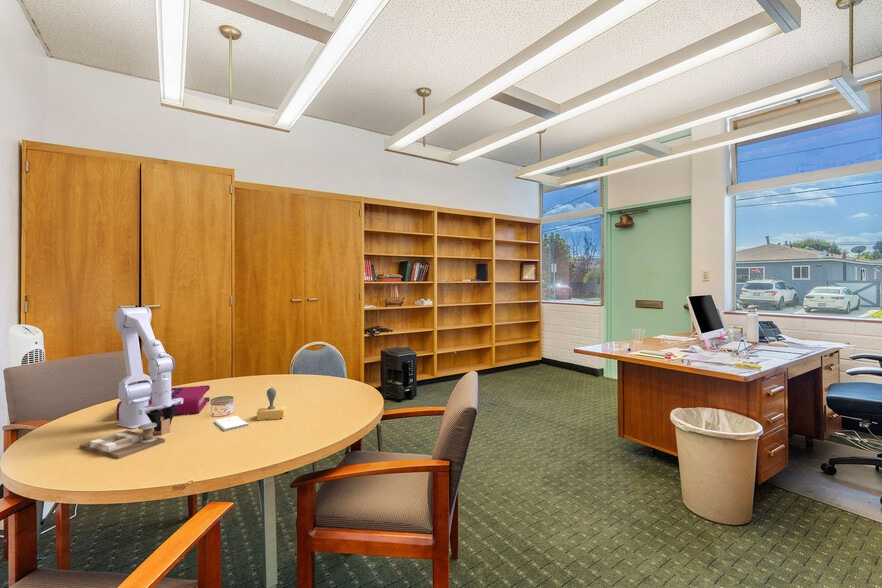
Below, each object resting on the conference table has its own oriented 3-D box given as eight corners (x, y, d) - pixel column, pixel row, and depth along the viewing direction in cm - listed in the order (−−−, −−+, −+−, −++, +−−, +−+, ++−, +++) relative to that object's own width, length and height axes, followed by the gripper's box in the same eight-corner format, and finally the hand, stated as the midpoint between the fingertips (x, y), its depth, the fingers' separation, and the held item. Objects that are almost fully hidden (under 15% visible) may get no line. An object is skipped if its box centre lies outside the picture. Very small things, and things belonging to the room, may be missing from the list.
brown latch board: (79, 448, 130) (79, 429, 129) (126, 433, 143) (126, 416, 142) (118, 458, 122) (118, 439, 122) (165, 441, 135) (164, 424, 135)
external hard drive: (224, 433, 145) (214, 424, 154) (248, 427, 151) (237, 419, 160) (224, 428, 145) (214, 419, 154) (248, 423, 151) (237, 415, 160)
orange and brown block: (153, 433, 143) (153, 419, 142) (162, 430, 145) (162, 416, 145) (161, 435, 141) (161, 421, 141) (170, 432, 144) (169, 418, 144)
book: (198, 415, 164) (198, 396, 164) (116, 421, 155) (115, 402, 155) (210, 400, 184) (210, 383, 183) (137, 405, 175) (137, 388, 174)
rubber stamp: (256, 420, 157) (256, 390, 156) (259, 415, 163) (259, 386, 162) (283, 419, 159) (283, 389, 159) (285, 414, 165) (285, 385, 164)
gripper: (147, 397, 135) (148, 437, 135) (188, 387, 148) (189, 423, 148) (134, 395, 137) (134, 434, 138) (175, 385, 151) (176, 421, 151)
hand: (162, 428), depth 143 cm, fingers closed on orange and brown block, 3 cm apart
